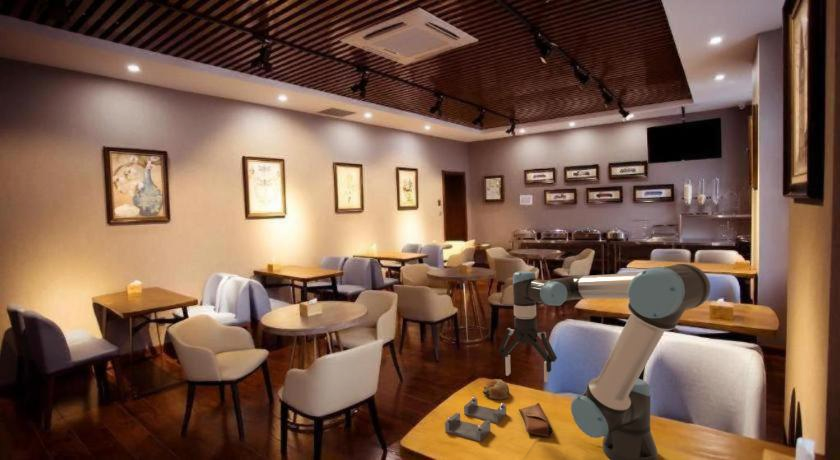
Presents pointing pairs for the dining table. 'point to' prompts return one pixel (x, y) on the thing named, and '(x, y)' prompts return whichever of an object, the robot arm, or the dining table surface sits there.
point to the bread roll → (496, 389)
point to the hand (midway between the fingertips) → (527, 377)
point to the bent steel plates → (472, 430)
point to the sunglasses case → (536, 420)
